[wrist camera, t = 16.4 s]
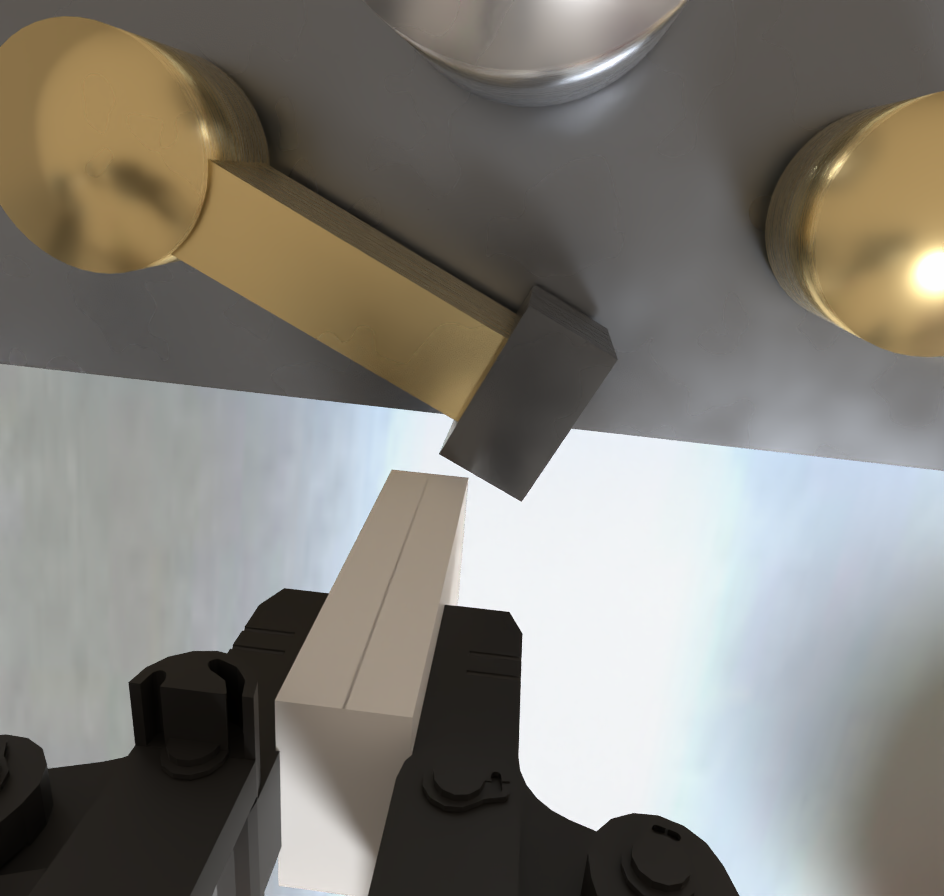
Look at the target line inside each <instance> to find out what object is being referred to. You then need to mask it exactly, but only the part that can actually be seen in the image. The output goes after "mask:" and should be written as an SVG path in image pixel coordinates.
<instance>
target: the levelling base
mask: <svg viewBox="0 0 944 896" xmlns="http://www.w3.org/2000/svg"><path fill="white" fill-rule="evenodd" d="M62 16H69V17H82V18H87V19H92V20H97V21H99V22H102V23H105V24H108V25H111V26H114V27H117V28H119V29H122V30H125V31H128V32H131V33H134V34H137V35H139V36H142V37H145V38H148V39H151V40H154V41H157V42H160V43H162V44H165V45H168V46H171V47H174V48H177V49H180V50H182V51H185V52H188V53H191V54H194V55H196V56H199V57H201V58H203V59H205V60H207V61H209V62H211V63H212V64H214V65H215V66H217V67H218V68H220V69H221V70H222V71H224V72H225V73H226V74H227V75H228V76H229V77H230V78H231V79H233V80H234V81H235V83H236V84H237V85H238V86H239V87H240V88H241V89H242V91H243V92H244V93H245V95H246V96H247V98H248V99H249V101H250V102H251V104H252V105H253V107H254V109H255V111H256V113H257V115H258V117H259V119H260V122H261V124H262V127H263V129H264V133H265V137H266V140H267V145H268V151H269V160H270V166H272V167H273V168H275V169H277V170H278V171H280V172H282V173H283V174H285V175H287V176H288V177H290V178H292V179H293V180H295V181H297V182H298V183H300V184H302V185H303V186H305V187H307V188H308V189H310V190H312V191H313V192H315V193H317V194H318V195H320V196H322V197H323V198H325V199H327V200H328V201H330V202H331V203H333V204H335V205H336V206H338V207H340V208H341V209H343V210H345V211H346V212H348V213H350V214H351V215H353V216H355V217H356V218H358V219H360V220H361V221H363V222H365V223H366V224H368V225H370V226H371V227H373V228H375V229H376V230H378V231H380V232H381V233H383V234H385V235H386V236H388V237H390V238H391V239H393V240H394V241H396V242H398V243H399V244H401V245H403V246H404V247H406V248H408V249H409V250H411V251H413V252H414V253H416V254H418V255H419V256H421V257H423V258H424V259H426V260H428V261H429V262H431V263H433V264H434V265H436V266H438V267H439V268H441V269H443V270H444V271H446V272H448V273H449V274H451V275H453V276H454V277H456V278H457V279H459V280H461V281H462V282H464V283H466V284H467V285H469V286H471V287H472V288H474V289H476V290H477V291H479V292H481V293H482V294H484V295H486V296H487V297H489V298H491V299H492V300H494V301H496V302H497V303H499V304H501V305H502V306H504V307H506V308H507V309H509V310H511V311H512V312H514V313H517V311H518V310H519V308H520V306H521V305H522V303H523V301H524V300H525V298H526V296H527V295H528V293H529V292H530V290H531V288H532V287H533V285H534V284H535V285H536V286H538V287H540V288H541V289H543V290H545V291H546V292H548V293H549V294H551V295H553V296H554V297H556V298H558V299H559V300H561V301H563V302H564V303H566V304H568V305H569V306H571V307H572V308H574V309H576V310H577V311H579V312H581V313H582V314H584V315H586V316H587V317H589V318H591V319H592V320H594V321H595V322H597V323H599V324H600V325H602V326H604V327H605V328H607V329H608V332H609V335H610V338H611V341H612V344H613V347H614V350H615V353H616V356H617V359H618V360H617V362H616V363H615V365H614V366H613V368H612V369H611V371H610V372H609V374H608V375H607V377H606V378H605V379H604V381H603V382H602V384H601V385H600V387H599V388H598V390H597V391H596V393H595V394H594V396H593V397H592V399H591V400H590V402H589V403H588V405H587V406H586V407H585V409H584V410H583V412H582V413H581V415H580V416H579V418H578V419H577V421H576V422H575V424H574V425H573V427H572V429H581V430H589V431H598V432H607V433H616V434H625V435H633V436H642V437H651V438H660V439H669V440H677V441H686V442H695V443H704V444H713V445H721V446H730V447H739V448H748V449H757V450H765V451H774V452H783V453H792V454H801V455H809V456H818V457H827V458H836V459H845V460H853V461H862V462H871V463H880V464H889V465H898V466H906V467H915V468H924V469H933V470H942V471H944V356H938V357H919V356H909V355H903V354H898V353H894V352H891V351H888V350H885V349H882V348H879V347H877V346H875V345H873V344H871V343H869V342H867V341H865V340H863V339H861V338H859V337H858V336H856V335H854V334H852V333H850V332H848V331H846V330H844V329H842V328H840V327H838V326H836V325H834V324H832V323H830V322H829V321H827V320H825V319H823V318H821V317H819V316H817V315H815V314H813V313H811V312H809V311H807V310H806V309H804V308H803V307H801V306H800V305H799V304H797V303H796V302H795V301H794V300H793V299H792V298H791V297H790V296H788V295H787V293H786V292H785V291H784V289H783V288H782V287H781V286H780V284H779V282H778V281H777V279H776V277H775V275H774V273H773V271H772V268H771V266H770V263H769V260H768V255H767V251H766V243H765V222H766V216H767V210H768V206H769V203H770V200H771V196H772V193H773V191H774V189H775V186H776V184H777V182H778V180H779V178H780V176H781V175H782V173H783V171H784V169H785V168H786V166H787V165H788V164H789V162H790V161H791V160H792V158H793V157H794V156H795V154H796V153H797V152H798V151H799V150H800V149H801V148H802V147H803V146H804V145H805V144H806V143H807V142H808V141H809V140H810V139H811V138H812V137H814V136H815V135H816V134H817V133H818V132H820V131H821V130H823V129H824V128H826V127H827V126H829V125H830V124H832V123H834V122H836V121H837V120H839V119H841V118H843V117H845V116H848V115H850V114H853V113H856V112H858V111H861V110H865V109H869V108H873V107H878V106H882V105H886V104H890V103H895V102H899V101H903V100H907V99H912V98H916V97H920V96H924V95H929V94H933V93H937V92H941V91H944V0H0V47H1V46H2V45H3V44H4V43H5V42H6V41H7V40H8V39H9V38H10V37H11V36H12V35H14V34H15V33H16V32H18V31H19V30H20V29H22V28H24V27H26V26H28V25H30V24H32V23H34V22H37V21H40V20H44V19H48V18H53V17H62ZM0 364H8V365H17V366H26V367H35V368H43V369H52V370H61V371H70V372H79V373H87V374H96V375H105V376H114V377H123V378H131V379H140V380H149V381H158V382H167V383H176V384H184V385H193V386H202V387H211V388H220V389H228V390H237V391H246V392H255V393H264V394H272V395H281V396H290V397H299V398H308V399H316V400H325V401H334V402H343V403H352V404H360V405H369V406H378V407H387V408H396V409H404V410H413V411H422V412H431V413H440V414H443V413H442V412H440V411H438V410H437V409H435V408H433V407H432V406H430V405H428V404H426V403H425V402H423V401H421V400H420V399H418V398H416V397H414V396H413V395H411V394H409V393H408V392H406V391H404V390H402V389H401V388H399V387H397V386H396V385H394V384H392V383H390V382H389V381H387V380H385V379H384V378H382V377H380V376H378V375H377V374H375V373H373V372H372V371H370V370H368V369H366V368H365V367H363V366H361V365H360V364H358V363H356V362H354V361H353V360H351V359H349V358H348V357H346V356H344V355H342V354H341V353H339V352H337V351H336V350H334V349H332V348H330V347H329V346H327V345H325V344H324V343H322V342H320V341H319V340H317V339H315V338H313V337H312V336H310V335H308V334H307V333H305V332H303V331H301V330H300V329H298V328H296V327H295V326H293V325H291V324H289V323H288V322H286V321H284V320H283V319H281V318H279V317H277V316H276V315H274V314H272V313H271V312H269V311H267V310H265V309H264V308H262V307H260V306H259V305H257V304H255V303H253V302H252V301H250V300H248V299H247V298H245V297H243V296H241V295H240V294H238V293H236V292H235V291H233V290H231V289H229V288H228V287H226V286H224V285H223V284H221V283H219V282H217V281H216V280H214V279H212V278H211V277H209V276H207V275H206V274H204V273H202V272H200V271H199V270H197V269H195V268H194V267H192V266H190V265H188V264H187V263H185V262H183V261H177V262H172V263H168V264H163V265H158V266H153V267H148V268H144V269H139V270H134V271H129V272H125V273H112V274H108V273H95V272H91V271H86V270H82V269H79V268H76V267H73V266H70V265H68V264H66V263H64V262H62V261H60V260H58V259H56V258H54V257H52V256H51V255H49V254H48V253H46V252H45V251H43V250H41V249H40V248H39V247H38V246H36V245H35V244H34V243H33V242H32V241H30V240H29V239H28V238H27V237H26V236H25V235H24V234H23V233H22V232H21V231H20V230H19V229H18V228H17V227H16V225H15V224H14V223H13V222H12V220H11V219H10V218H9V217H8V215H7V214H6V213H5V211H4V210H3V208H2V206H1V205H0Z"/></svg>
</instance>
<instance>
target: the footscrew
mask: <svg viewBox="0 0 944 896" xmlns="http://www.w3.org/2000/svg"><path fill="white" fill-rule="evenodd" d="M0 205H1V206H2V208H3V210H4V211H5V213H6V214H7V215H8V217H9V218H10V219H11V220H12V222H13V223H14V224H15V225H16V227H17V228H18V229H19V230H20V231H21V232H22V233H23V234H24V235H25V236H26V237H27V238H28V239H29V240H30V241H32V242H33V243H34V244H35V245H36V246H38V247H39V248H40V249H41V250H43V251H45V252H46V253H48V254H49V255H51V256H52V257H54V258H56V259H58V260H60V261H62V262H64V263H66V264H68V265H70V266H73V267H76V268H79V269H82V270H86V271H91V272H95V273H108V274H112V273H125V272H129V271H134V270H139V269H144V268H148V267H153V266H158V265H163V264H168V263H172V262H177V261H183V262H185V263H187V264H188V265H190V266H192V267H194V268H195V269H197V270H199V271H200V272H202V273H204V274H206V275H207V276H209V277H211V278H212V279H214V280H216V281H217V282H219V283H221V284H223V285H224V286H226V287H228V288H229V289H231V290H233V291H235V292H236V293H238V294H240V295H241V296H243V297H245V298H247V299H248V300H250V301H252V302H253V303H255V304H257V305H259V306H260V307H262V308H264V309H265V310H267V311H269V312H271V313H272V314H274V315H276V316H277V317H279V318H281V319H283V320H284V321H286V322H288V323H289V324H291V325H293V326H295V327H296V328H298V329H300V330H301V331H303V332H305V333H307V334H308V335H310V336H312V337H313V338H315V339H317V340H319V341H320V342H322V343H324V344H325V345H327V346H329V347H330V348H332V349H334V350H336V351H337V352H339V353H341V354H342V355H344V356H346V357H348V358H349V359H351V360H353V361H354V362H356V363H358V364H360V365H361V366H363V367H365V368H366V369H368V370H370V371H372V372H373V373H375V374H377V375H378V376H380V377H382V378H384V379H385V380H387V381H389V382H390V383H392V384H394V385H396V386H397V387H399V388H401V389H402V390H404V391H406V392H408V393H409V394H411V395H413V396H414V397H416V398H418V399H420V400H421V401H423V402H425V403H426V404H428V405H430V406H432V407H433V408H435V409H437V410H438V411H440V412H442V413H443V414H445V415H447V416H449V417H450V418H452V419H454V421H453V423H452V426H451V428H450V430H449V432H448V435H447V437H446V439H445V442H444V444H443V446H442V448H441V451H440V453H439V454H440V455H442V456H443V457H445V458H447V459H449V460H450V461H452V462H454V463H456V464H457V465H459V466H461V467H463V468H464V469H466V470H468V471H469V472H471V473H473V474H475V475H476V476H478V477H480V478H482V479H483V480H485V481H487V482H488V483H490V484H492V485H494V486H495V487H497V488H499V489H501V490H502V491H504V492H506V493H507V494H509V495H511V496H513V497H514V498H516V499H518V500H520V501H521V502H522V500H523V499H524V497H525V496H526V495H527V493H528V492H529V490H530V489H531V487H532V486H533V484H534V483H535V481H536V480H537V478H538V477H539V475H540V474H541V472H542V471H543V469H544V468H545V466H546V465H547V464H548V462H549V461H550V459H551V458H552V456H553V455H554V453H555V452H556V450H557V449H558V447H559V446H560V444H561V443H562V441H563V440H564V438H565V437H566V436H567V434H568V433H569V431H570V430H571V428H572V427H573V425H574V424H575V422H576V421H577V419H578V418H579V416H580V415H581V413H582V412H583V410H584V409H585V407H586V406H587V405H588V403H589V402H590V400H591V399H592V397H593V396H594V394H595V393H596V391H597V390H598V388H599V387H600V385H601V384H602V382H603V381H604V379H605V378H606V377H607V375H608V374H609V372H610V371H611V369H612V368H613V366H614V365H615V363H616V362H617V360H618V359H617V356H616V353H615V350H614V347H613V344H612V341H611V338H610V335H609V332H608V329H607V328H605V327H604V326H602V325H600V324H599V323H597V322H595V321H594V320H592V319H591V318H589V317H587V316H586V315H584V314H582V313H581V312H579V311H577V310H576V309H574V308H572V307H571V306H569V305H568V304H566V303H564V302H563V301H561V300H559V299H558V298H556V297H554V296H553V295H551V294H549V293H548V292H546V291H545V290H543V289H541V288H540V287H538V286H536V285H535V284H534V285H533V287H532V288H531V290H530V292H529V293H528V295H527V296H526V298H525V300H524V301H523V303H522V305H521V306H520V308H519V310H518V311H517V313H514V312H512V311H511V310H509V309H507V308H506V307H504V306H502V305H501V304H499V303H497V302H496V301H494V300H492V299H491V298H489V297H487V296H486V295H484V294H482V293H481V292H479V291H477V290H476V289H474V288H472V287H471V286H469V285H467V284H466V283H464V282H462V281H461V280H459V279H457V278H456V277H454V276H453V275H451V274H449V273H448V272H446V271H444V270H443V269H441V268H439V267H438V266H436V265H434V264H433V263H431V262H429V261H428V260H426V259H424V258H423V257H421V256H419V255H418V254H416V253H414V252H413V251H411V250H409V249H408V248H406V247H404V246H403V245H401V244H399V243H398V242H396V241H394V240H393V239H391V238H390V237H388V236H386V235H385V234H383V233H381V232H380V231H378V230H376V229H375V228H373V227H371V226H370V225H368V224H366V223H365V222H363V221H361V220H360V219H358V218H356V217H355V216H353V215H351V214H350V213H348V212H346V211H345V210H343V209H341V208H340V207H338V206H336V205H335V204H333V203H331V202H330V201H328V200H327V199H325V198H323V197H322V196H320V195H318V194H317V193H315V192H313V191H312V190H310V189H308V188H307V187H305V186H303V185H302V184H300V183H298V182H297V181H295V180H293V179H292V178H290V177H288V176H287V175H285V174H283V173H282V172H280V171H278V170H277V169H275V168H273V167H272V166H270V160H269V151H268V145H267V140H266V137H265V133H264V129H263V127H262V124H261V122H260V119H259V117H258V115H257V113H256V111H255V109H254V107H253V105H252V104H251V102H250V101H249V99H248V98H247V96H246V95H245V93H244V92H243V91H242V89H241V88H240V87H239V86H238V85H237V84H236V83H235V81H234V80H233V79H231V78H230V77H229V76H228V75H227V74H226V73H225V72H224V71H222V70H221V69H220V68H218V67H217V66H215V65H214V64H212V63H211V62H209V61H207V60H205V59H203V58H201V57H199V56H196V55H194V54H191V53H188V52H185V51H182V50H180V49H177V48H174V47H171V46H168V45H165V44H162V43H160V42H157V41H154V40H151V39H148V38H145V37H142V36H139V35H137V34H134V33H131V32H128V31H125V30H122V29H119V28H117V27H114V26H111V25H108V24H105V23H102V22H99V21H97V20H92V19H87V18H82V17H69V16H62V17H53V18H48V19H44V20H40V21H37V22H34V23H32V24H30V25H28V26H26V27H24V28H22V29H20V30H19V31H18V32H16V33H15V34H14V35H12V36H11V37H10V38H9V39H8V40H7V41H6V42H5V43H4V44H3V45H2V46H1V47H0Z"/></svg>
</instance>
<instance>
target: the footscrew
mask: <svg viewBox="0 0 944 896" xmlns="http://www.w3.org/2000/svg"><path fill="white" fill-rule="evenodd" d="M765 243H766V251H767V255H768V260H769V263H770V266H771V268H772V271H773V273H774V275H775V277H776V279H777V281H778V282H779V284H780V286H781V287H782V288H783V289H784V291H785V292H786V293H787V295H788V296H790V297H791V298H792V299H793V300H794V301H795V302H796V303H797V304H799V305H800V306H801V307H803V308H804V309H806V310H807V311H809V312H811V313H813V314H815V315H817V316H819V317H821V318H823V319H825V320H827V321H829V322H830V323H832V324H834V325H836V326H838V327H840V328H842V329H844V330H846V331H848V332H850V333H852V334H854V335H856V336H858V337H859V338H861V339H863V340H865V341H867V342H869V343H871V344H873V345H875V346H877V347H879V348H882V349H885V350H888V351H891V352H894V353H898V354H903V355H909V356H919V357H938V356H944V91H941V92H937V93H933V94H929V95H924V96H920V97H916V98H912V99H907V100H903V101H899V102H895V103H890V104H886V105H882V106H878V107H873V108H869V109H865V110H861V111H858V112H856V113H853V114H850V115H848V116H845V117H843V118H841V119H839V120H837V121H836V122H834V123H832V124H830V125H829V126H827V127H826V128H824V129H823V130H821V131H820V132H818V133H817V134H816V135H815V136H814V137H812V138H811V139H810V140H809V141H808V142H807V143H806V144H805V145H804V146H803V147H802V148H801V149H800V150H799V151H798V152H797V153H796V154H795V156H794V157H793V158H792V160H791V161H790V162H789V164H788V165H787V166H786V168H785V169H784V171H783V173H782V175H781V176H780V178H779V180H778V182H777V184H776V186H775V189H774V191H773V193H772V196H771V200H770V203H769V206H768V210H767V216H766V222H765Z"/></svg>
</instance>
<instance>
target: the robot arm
mask: <svg viewBox="0 0 944 896" xmlns="http://www.w3.org/2000/svg"><path fill="white" fill-rule="evenodd" d="M467 489H468V478H465V477H455V476H446V475H436V474H427V473H418V472H408V471H399V470H392V471H391V473H390V474H389V476H388V478H387V480H386V482H385V484H384V486H383V488H382V490H381V492H380V494H379V496H378V498H377V500H376V502H375V504H374V506H373V508H372V510H371V512H370V514H369V516H368V518H367V520H366V522H365V524H364V526H363V528H362V530H361V532H360V534H359V536H358V537H357V539H356V541H355V543H354V545H353V547H352V549H351V551H350V553H349V555H348V557H347V559H346V561H345V563H344V565H343V567H342V569H341V571H340V573H339V575H338V577H337V579H336V581H335V583H334V585H333V587H332V589H331V591H330V593H320V592H312V591H303V590H294V589H286V588H284V589H283V590H281V591H280V592H278V593H277V594H275V595H274V596H272V597H271V598H269V599H268V600H266V601H265V602H263V603H262V604H260V605H259V606H258V608H257V609H256V611H255V612H254V614H253V615H252V617H251V618H250V620H249V621H248V623H247V624H246V626H245V630H244V631H242V632H241V633H240V635H239V636H238V638H237V639H236V641H235V642H234V644H233V648H232V649H230V650H229V652H228V653H227V654H226V653H223V652H219V651H192V652H187V653H183V654H179V655H174V656H170V657H167V658H165V659H163V660H161V661H159V662H157V663H154V664H152V665H150V666H148V667H146V668H145V669H144V670H142V671H141V672H140V673H139V674H138V675H137V676H136V677H134V678H133V679H132V680H131V681H130V682H129V690H130V700H131V709H132V718H133V727H134V736H135V747H134V748H133V749H132V751H131V752H130V754H129V755H128V756H126V757H123V758H119V759H114V760H109V761H104V762H98V763H90V764H82V765H74V766H66V767H58V768H50V769H48V768H47V763H46V760H45V756H44V752H43V749H42V748H41V747H40V746H38V745H37V744H35V743H34V742H33V741H31V740H30V739H28V738H24V737H18V736H12V735H0V896H264V891H265V888H266V886H267V883H268V881H269V878H270V875H271V873H272V870H273V868H274V865H275V863H276V860H277V857H278V875H279V886H284V887H292V888H299V889H306V890H313V891H321V892H328V893H335V894H342V895H350V896H739V894H738V892H737V891H736V889H735V887H734V885H733V883H732V881H731V879H730V877H729V875H728V874H727V872H726V870H725V868H724V866H723V865H722V863H721V862H720V861H719V859H718V858H717V857H716V855H715V854H714V853H713V851H712V850H711V849H710V847H709V846H708V845H707V843H706V842H704V841H703V840H702V839H700V838H699V837H698V836H696V835H695V834H694V833H692V832H691V831H690V830H688V829H687V828H686V827H685V826H683V825H680V824H678V823H675V822H673V821H670V820H668V819H666V818H663V817H661V816H658V815H647V814H637V813H632V814H628V815H624V816H620V817H617V818H613V819H611V820H609V821H608V822H607V823H606V824H605V825H604V826H602V827H601V828H600V829H599V830H598V831H597V832H596V831H594V830H592V829H589V828H587V827H585V826H582V825H580V824H578V823H575V822H573V821H571V820H568V819H567V818H565V817H563V816H561V815H559V814H557V813H555V812H554V811H552V810H550V809H549V808H548V807H547V806H546V805H544V804H543V803H542V802H541V801H540V800H538V799H537V798H536V797H535V795H534V794H533V793H532V791H531V790H530V789H529V788H528V786H527V785H526V783H525V781H524V779H523V776H522V774H521V772H520V767H519V759H518V750H519V719H520V688H521V682H520V681H521V657H522V632H521V631H520V629H519V627H518V626H517V624H516V622H515V621H514V619H513V617H512V616H511V614H510V612H504V611H496V610H487V609H479V608H470V607H461V606H457V604H458V597H459V585H460V573H461V561H462V549H463V537H464V525H465V513H466V501H467Z"/></svg>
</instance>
